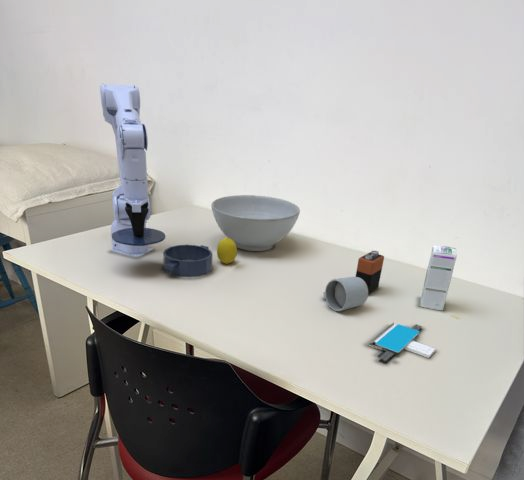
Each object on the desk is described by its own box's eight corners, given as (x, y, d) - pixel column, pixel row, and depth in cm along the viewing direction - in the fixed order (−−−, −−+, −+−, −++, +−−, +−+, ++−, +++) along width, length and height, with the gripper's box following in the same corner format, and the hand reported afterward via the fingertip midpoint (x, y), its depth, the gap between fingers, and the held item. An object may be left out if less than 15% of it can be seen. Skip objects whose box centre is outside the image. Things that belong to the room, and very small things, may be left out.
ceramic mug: (368, 309, 121) (373, 279, 117) (343, 316, 117) (348, 286, 113) (338, 293, 128) (342, 265, 125) (314, 300, 124) (317, 270, 120)
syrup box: (443, 311, 123) (458, 255, 116) (418, 306, 124) (432, 251, 117) (442, 302, 128) (457, 247, 120) (419, 298, 129) (432, 244, 122)
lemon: (237, 262, 143) (238, 235, 139) (234, 269, 138) (235, 241, 134) (218, 260, 143) (219, 233, 139) (215, 267, 138) (215, 239, 134)
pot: (148, 275, 130) (147, 257, 128) (185, 255, 145) (185, 239, 142) (190, 286, 126) (190, 268, 124) (224, 264, 141) (225, 247, 138)
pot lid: (100, 241, 125) (98, 222, 123) (134, 228, 136) (132, 211, 133) (144, 251, 121) (143, 232, 118) (175, 237, 131) (175, 219, 129)
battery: (378, 288, 133) (385, 252, 128) (367, 295, 128) (374, 258, 123) (364, 283, 135) (370, 248, 130) (352, 290, 130) (358, 254, 125)
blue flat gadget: (413, 374, 97) (415, 367, 96) (358, 353, 103) (360, 346, 102) (447, 337, 111) (449, 331, 110) (397, 320, 117) (398, 314, 116)
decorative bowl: (245, 226, 173) (247, 190, 166) (311, 245, 160) (316, 207, 154) (192, 244, 153) (192, 204, 147) (263, 267, 141) (266, 224, 134)
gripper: (119, 171, 126) (123, 224, 133) (116, 184, 114) (121, 242, 120) (147, 172, 127) (150, 224, 134) (148, 185, 115) (151, 242, 122)
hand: (138, 233), depth 127 cm, fingers closed on pot lid, 2 cm apart
